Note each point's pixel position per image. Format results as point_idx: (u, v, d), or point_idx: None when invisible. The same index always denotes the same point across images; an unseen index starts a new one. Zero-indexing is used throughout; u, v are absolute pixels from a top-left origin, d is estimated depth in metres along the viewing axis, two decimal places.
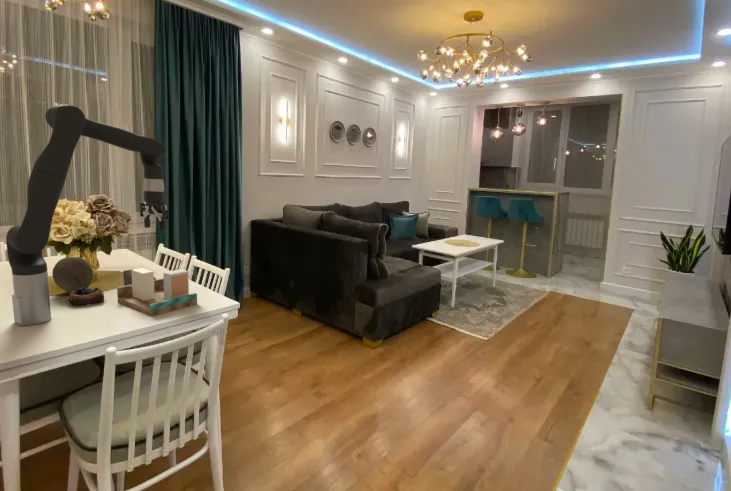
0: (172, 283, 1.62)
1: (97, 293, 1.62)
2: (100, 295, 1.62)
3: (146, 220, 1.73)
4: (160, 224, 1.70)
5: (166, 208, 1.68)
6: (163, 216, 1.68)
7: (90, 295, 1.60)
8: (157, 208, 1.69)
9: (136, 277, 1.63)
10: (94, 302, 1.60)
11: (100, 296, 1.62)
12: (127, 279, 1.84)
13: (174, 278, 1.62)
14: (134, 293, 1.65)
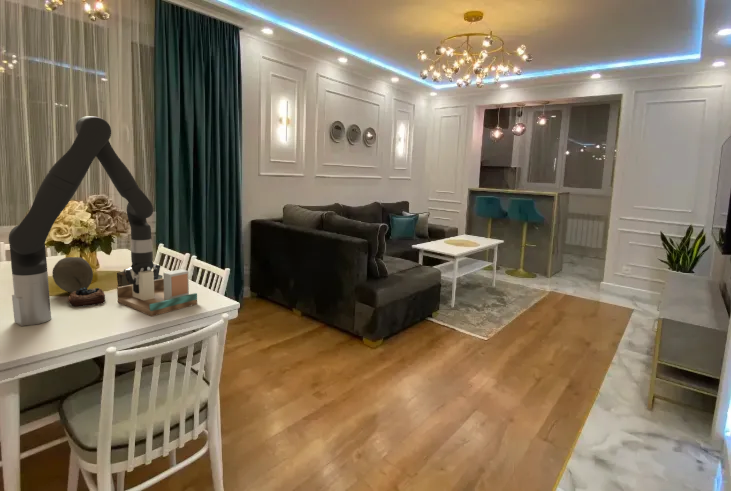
0: (172, 283, 1.62)
1: (98, 294, 1.61)
2: (101, 296, 1.61)
3: None
4: None
5: None
6: (157, 275, 1.68)
7: (91, 296, 1.59)
8: (151, 268, 1.66)
9: None
10: (95, 303, 1.60)
11: (101, 297, 1.61)
12: None
13: (174, 278, 1.62)
14: (134, 293, 1.65)
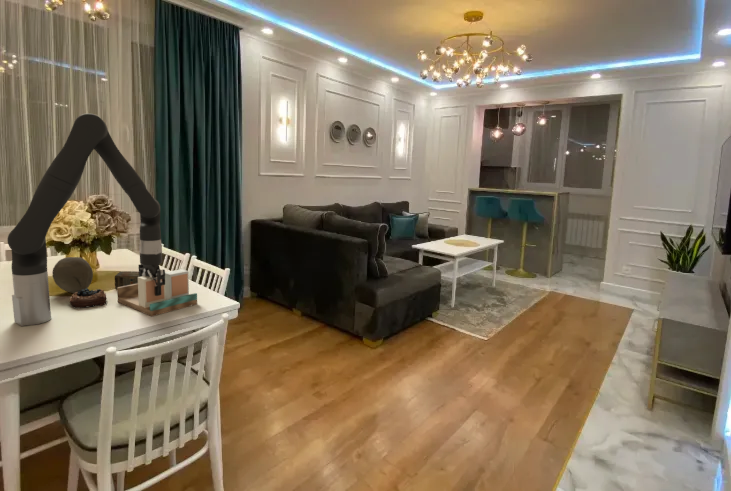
0: (172, 283, 1.62)
1: (99, 295, 1.60)
2: (102, 297, 1.60)
3: None
4: (155, 289, 1.55)
5: (162, 273, 1.53)
6: (158, 282, 1.53)
7: (91, 297, 1.58)
8: (153, 272, 1.54)
9: None
10: (95, 304, 1.58)
11: (102, 298, 1.60)
12: (130, 281, 1.81)
13: (174, 278, 1.62)
14: None
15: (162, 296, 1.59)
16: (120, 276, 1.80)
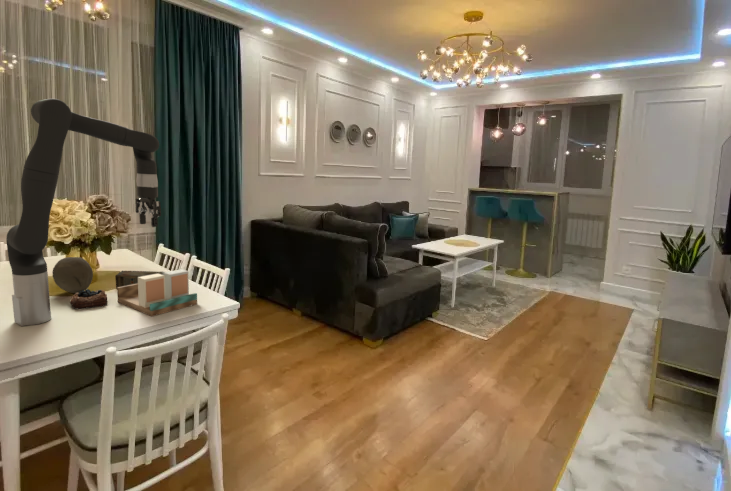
0: (172, 283, 1.62)
1: (99, 296, 1.59)
2: (102, 298, 1.59)
3: (141, 216, 1.69)
4: (152, 221, 1.65)
5: (157, 204, 1.63)
6: (154, 212, 1.63)
7: (92, 298, 1.57)
8: (149, 204, 1.64)
9: None
10: (95, 305, 1.57)
11: (102, 299, 1.59)
12: (131, 281, 1.82)
13: (174, 278, 1.62)
14: None
15: (162, 296, 1.59)
16: (121, 275, 1.81)
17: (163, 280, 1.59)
